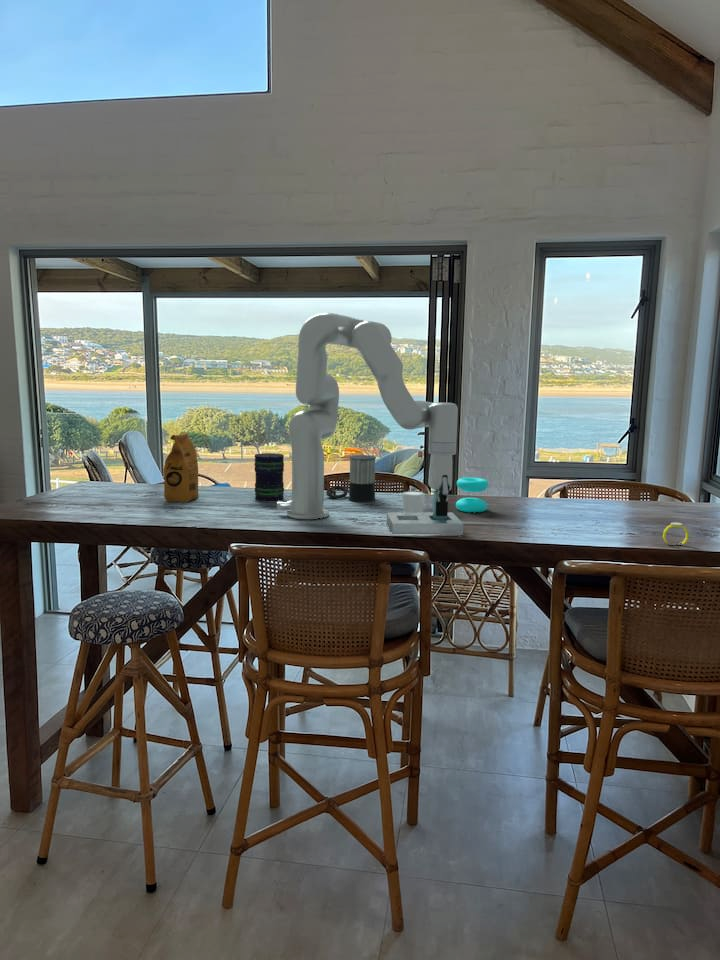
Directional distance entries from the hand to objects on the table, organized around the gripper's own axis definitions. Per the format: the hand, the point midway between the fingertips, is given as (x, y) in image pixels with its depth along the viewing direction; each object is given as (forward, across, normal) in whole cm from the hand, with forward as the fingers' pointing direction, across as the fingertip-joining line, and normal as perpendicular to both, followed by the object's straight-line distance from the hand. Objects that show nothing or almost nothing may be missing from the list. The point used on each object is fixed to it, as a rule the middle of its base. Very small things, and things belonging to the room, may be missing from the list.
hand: (439, 513), depth 186 cm
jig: (+5, 0, -4) cm, 7 cm away
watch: (+5, +17, +58) cm, 61 cm away
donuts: (+5, -27, +16) cm, 32 cm away
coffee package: (+5, -44, -78) cm, 90 cm away
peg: (+2, 0, 0) cm, 2 cm away
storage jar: (+5, -45, -50) cm, 67 cm away
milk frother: (+5, -46, -22) cm, 51 cm away
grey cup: (+5, -19, -4) cm, 20 cm away
